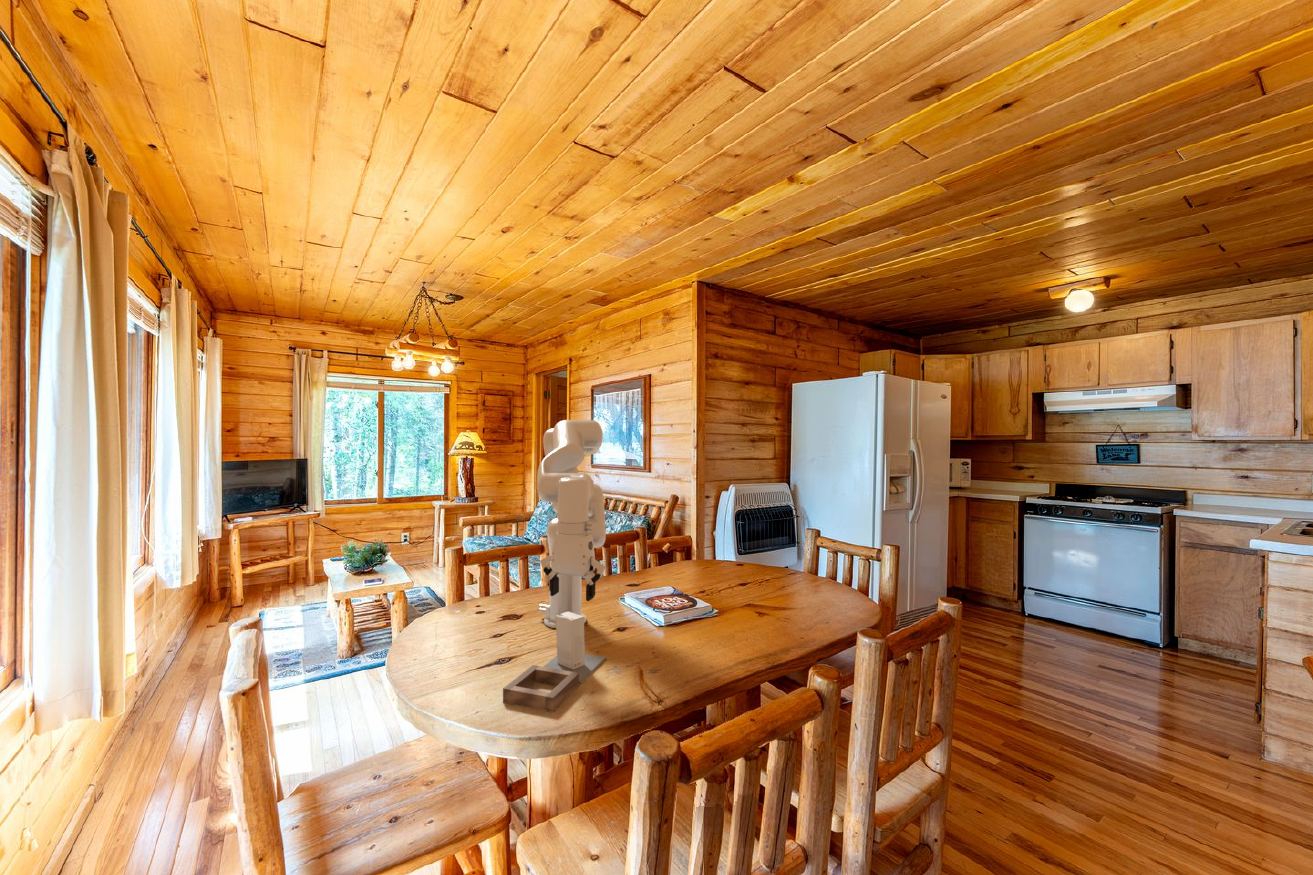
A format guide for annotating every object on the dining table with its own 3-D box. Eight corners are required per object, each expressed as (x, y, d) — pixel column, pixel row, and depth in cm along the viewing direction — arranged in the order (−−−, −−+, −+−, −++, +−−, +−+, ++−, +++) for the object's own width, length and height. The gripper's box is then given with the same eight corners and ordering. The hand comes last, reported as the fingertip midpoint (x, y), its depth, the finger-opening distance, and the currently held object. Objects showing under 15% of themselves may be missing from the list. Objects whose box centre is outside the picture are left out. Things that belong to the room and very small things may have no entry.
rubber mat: (535, 675, 128) (535, 673, 128) (563, 652, 141) (563, 650, 141) (580, 683, 124) (580, 681, 124) (605, 659, 137) (605, 656, 137)
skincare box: (585, 664, 133) (586, 615, 132) (571, 671, 129) (572, 620, 129) (568, 657, 137) (569, 610, 136) (555, 663, 133) (555, 614, 133)
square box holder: (502, 702, 116) (503, 688, 115) (532, 677, 127) (532, 664, 127) (552, 712, 112) (553, 697, 112) (579, 685, 123) (579, 672, 123)
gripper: (611, 527, 133) (610, 596, 134) (549, 521, 138) (548, 587, 139) (599, 534, 126) (597, 606, 127) (533, 527, 131) (533, 597, 132)
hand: (572, 596), depth 133 cm, fingers open, 9 cm apart
